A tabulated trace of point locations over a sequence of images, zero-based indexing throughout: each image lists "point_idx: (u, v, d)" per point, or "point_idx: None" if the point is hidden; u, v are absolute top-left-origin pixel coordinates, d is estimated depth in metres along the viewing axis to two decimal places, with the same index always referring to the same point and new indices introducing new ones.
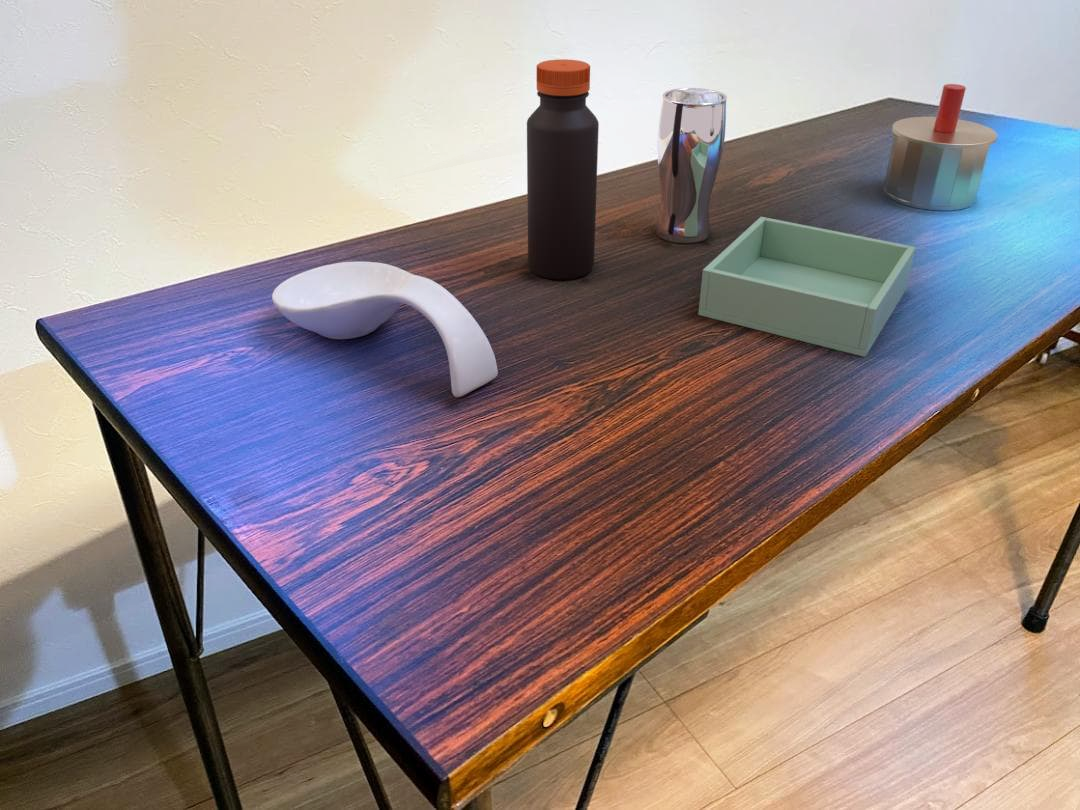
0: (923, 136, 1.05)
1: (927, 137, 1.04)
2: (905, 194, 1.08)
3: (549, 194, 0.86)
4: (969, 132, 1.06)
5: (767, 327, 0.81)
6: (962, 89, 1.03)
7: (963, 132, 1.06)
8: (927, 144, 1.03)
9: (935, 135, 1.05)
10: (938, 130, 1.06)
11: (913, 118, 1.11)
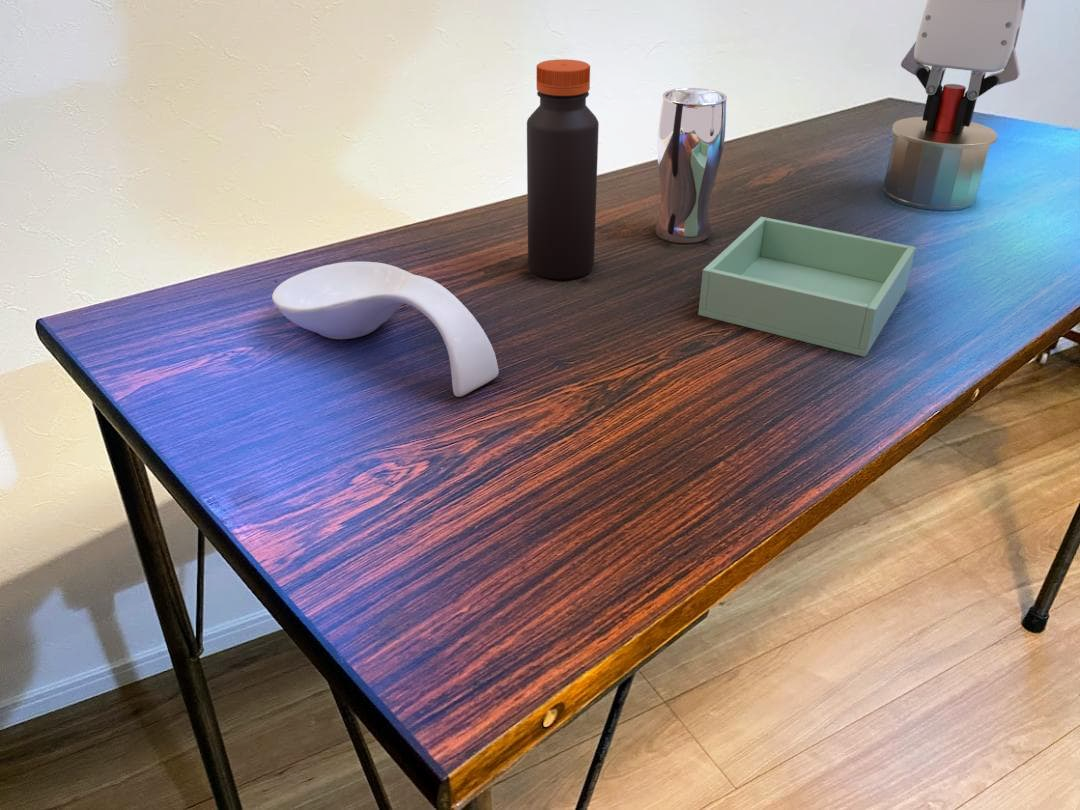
0: (923, 136, 1.05)
1: (927, 137, 1.04)
2: (905, 194, 1.08)
3: (549, 194, 0.86)
4: (969, 132, 1.06)
5: (767, 327, 0.81)
6: (962, 89, 1.03)
7: (963, 132, 1.06)
8: (927, 144, 1.03)
9: (935, 135, 1.05)
10: (938, 130, 1.06)
11: (913, 118, 1.11)
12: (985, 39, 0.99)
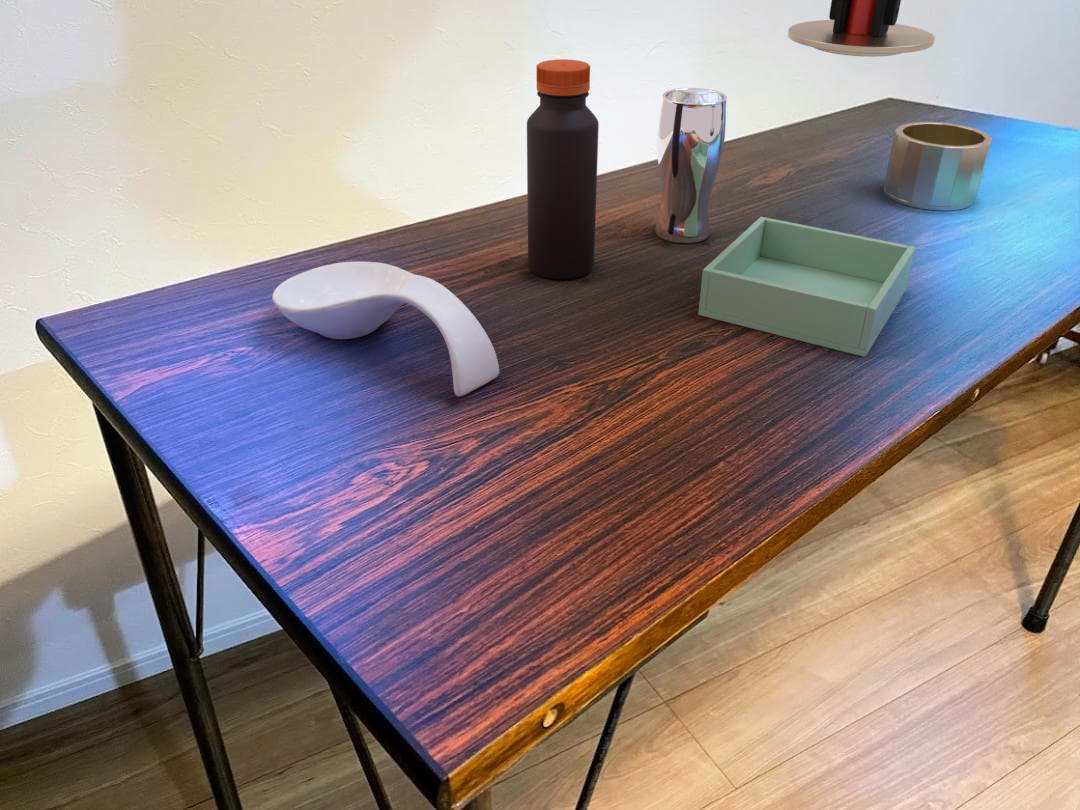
0: (827, 38, 0.73)
1: (832, 39, 0.72)
2: (905, 194, 1.08)
3: (549, 194, 0.86)
4: (895, 35, 0.74)
5: (767, 327, 0.81)
6: None
7: (886, 35, 0.74)
8: (831, 48, 0.71)
9: (845, 37, 0.73)
10: (851, 32, 0.74)
11: (821, 21, 0.79)
12: None
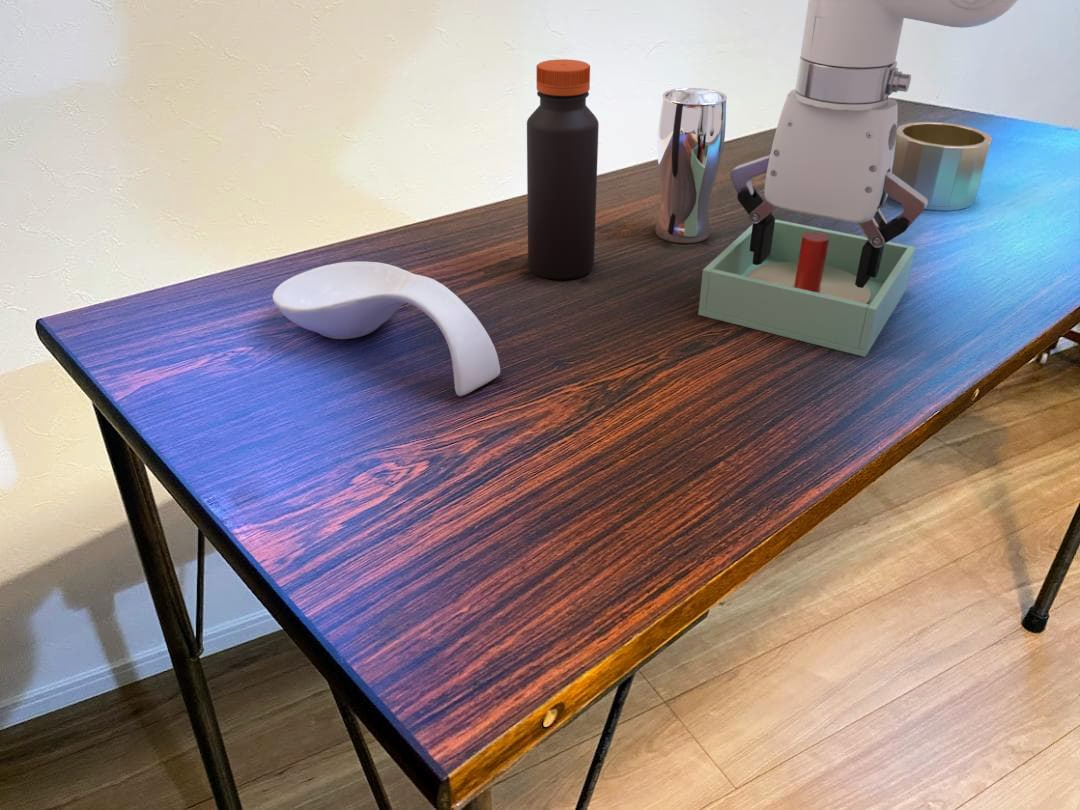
0: None
1: None
2: None
3: (549, 194, 0.86)
4: (837, 291, 0.85)
5: (767, 327, 0.81)
6: (824, 242, 0.82)
7: (829, 291, 0.85)
8: None
9: None
10: None
11: (775, 264, 0.90)
12: (846, 184, 0.77)
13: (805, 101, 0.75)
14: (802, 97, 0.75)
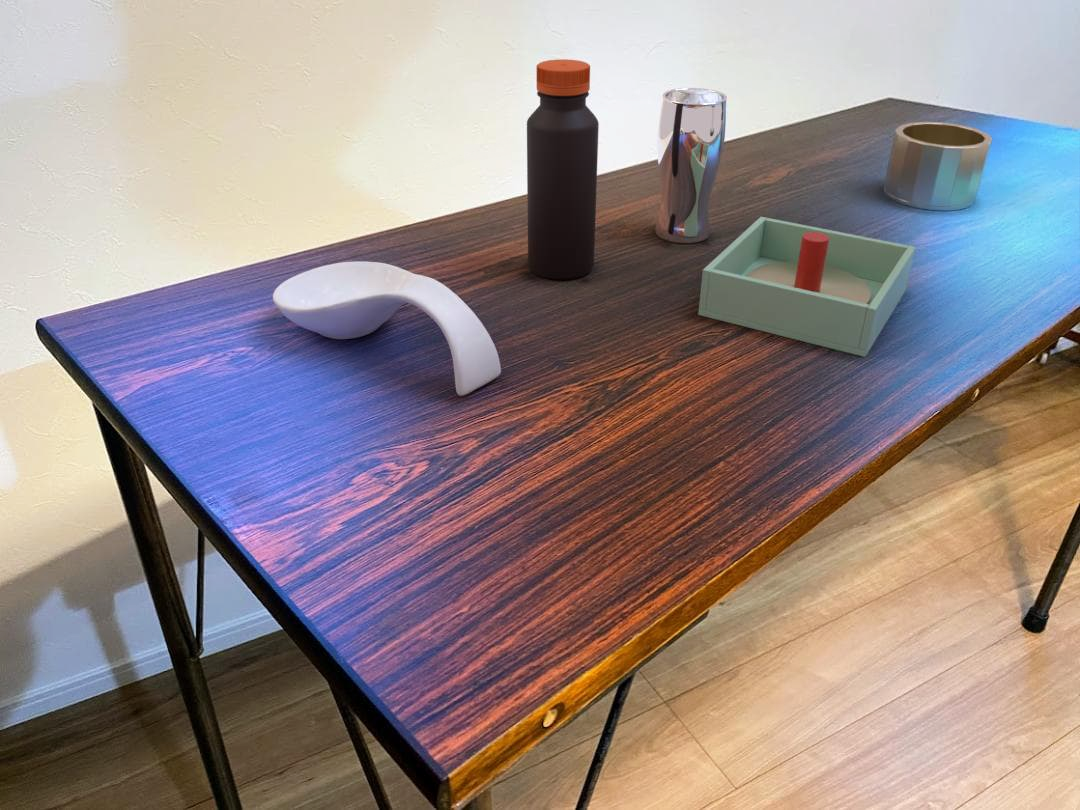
0: None
1: None
2: (905, 194, 1.08)
3: (549, 194, 0.86)
4: (837, 291, 0.85)
5: (767, 327, 0.81)
6: (824, 242, 0.82)
7: (829, 291, 0.85)
8: None
9: None
10: None
11: (775, 264, 0.90)
12: None
13: None
14: None
